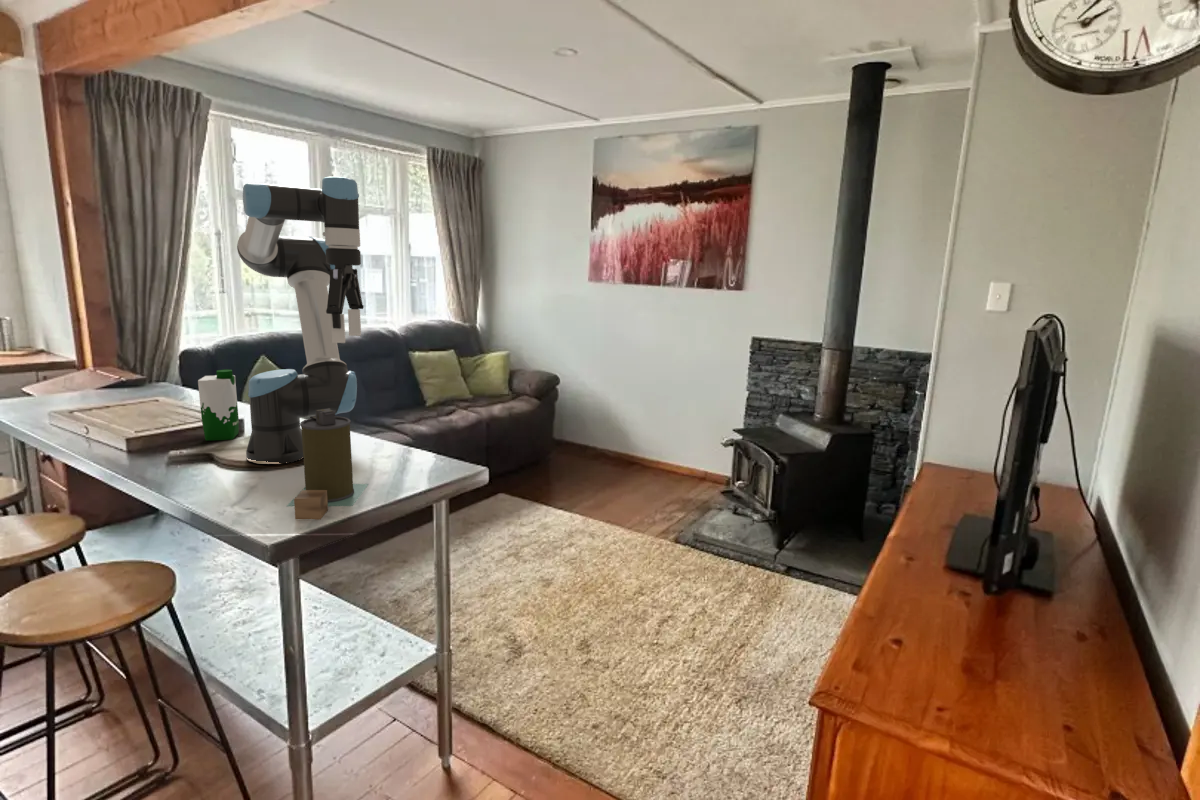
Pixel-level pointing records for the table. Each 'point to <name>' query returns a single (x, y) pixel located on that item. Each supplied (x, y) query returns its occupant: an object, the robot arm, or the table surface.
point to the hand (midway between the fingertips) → (347, 339)
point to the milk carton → (219, 406)
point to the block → (311, 504)
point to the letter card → (348, 501)
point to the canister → (328, 454)
